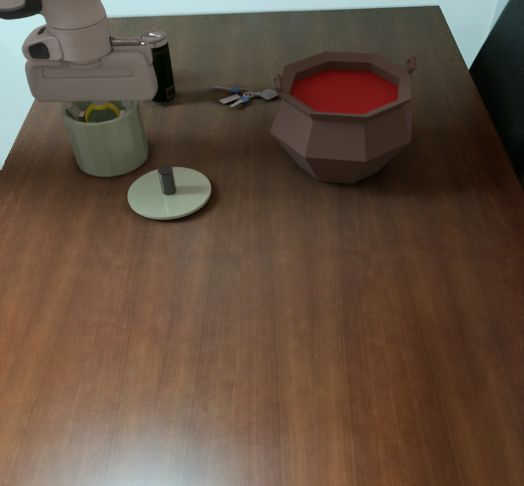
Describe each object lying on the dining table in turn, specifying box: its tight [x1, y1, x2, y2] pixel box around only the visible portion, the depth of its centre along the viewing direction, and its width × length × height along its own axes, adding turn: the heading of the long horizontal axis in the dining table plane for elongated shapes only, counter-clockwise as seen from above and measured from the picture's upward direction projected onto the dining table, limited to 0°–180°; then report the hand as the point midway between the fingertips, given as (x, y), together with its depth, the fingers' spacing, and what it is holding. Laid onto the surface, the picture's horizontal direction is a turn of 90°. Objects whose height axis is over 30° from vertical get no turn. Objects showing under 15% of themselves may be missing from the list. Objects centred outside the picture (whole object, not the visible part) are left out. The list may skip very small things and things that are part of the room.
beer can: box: [138, 29, 177, 106], centre depth 111 cm, size 5×5×12 cm
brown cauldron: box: [270, 50, 418, 185], centre depth 94 cm, size 24×24×16 cm
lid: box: [126, 164, 212, 221], centre depth 93 cm, size 14×14×5 cm
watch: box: [85, 101, 120, 123], centre depth 98 cm, size 6×3×6 cm, turn 101°
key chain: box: [211, 85, 279, 108], centre depth 114 cm, size 14×8×1 cm, turn 80°
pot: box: [60, 101, 150, 178], centre depth 100 cm, size 13×13×10 cm
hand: (104, 123), depth 99 cm, fingers closed on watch, 6 cm apart
